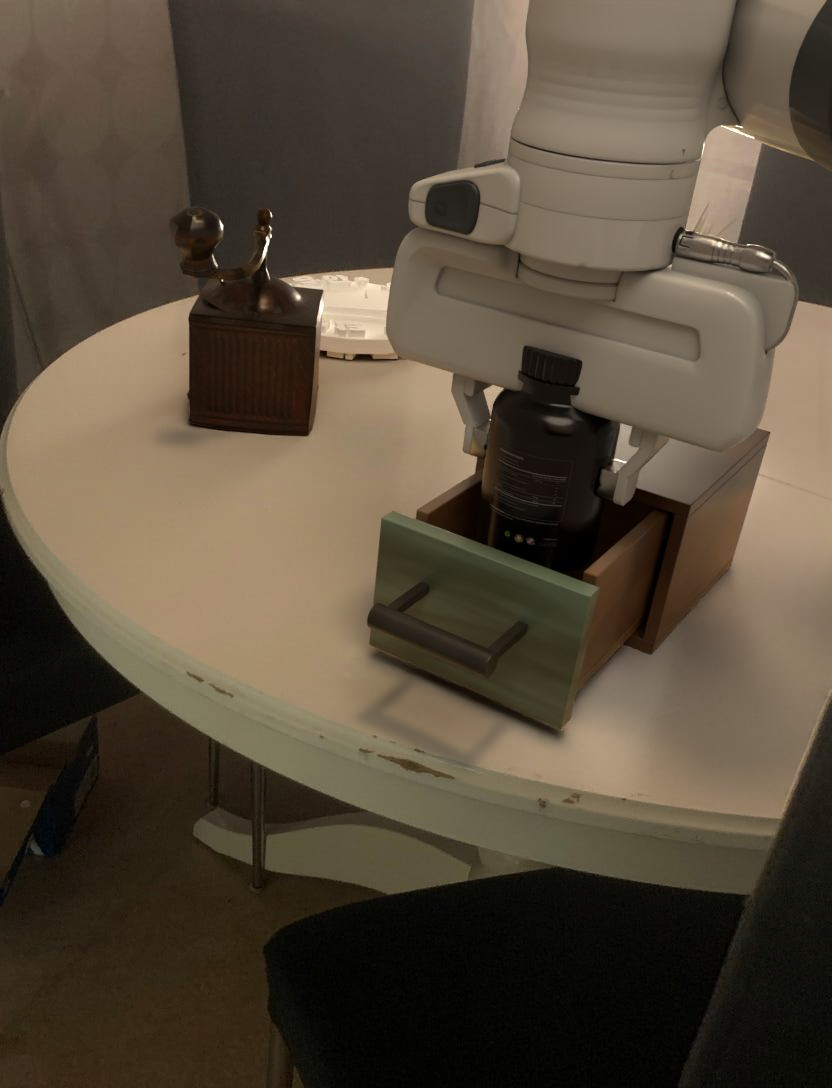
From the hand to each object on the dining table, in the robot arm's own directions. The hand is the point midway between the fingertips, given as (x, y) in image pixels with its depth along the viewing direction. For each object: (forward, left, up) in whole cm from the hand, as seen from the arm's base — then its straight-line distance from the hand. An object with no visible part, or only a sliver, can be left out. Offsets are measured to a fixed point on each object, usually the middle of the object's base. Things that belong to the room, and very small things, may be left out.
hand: (544, 475), depth 61 cm
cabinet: (0, -13, -12) cm, 17 cm away
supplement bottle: (0, 0, -5) cm, 5 cm away
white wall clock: (+42, -43, -12) cm, 61 cm away
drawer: (0, +2, -11) cm, 11 cm away
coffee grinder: (+34, -17, -12) cm, 40 cm away
